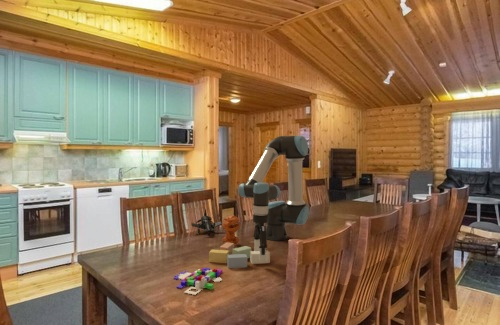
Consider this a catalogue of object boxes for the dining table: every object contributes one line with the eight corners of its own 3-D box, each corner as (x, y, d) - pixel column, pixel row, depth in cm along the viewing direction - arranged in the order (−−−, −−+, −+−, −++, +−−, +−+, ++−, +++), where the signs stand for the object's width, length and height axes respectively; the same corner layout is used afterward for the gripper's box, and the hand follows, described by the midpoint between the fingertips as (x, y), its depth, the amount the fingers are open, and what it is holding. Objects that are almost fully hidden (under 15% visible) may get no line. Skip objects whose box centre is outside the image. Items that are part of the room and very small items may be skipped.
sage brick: (245, 255, 166) (246, 245, 165) (251, 257, 162) (251, 247, 162) (232, 258, 160) (232, 249, 160) (237, 261, 156) (237, 251, 156)
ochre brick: (228, 260, 157) (228, 250, 157) (226, 263, 153) (226, 253, 153) (211, 259, 159) (211, 249, 159) (208, 262, 155) (209, 252, 154)
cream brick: (267, 260, 159) (267, 250, 158) (269, 263, 154) (269, 253, 154) (250, 261, 157) (250, 251, 157) (251, 264, 152) (252, 254, 152)
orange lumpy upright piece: (238, 248, 176) (238, 217, 175) (219, 247, 178) (219, 216, 177) (242, 243, 187) (242, 213, 186) (224, 241, 189) (225, 212, 188)
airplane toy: (218, 228, 220) (218, 207, 220) (225, 236, 202) (225, 212, 201) (189, 230, 214) (190, 208, 213) (194, 238, 196) (194, 214, 195)
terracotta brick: (226, 251, 172) (226, 242, 171) (234, 252, 170) (234, 243, 170) (219, 256, 163) (219, 246, 163) (227, 257, 162) (227, 247, 161)
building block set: (192, 267, 148) (193, 258, 148) (231, 275, 140) (231, 265, 140) (157, 288, 125) (157, 277, 125) (201, 299, 117) (202, 287, 117)
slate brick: (245, 264, 153) (245, 254, 152) (247, 267, 148) (247, 257, 148) (227, 265, 151) (227, 254, 151) (228, 268, 147) (228, 257, 146)
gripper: (248, 209, 166) (247, 249, 167) (258, 219, 142) (257, 265, 142) (262, 209, 168) (261, 248, 168) (274, 219, 143) (273, 265, 143)
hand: (259, 256), depth 155 cm, fingers open, 13 cm apart
